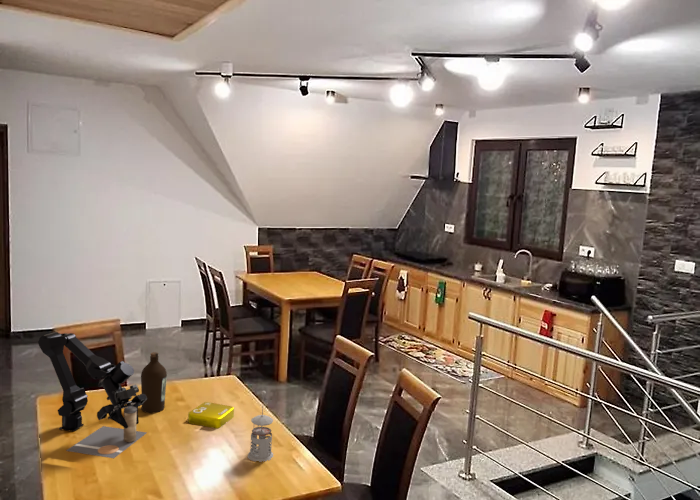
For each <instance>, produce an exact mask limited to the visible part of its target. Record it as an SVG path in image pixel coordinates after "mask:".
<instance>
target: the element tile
mask: <svg viewBox="0 0 700 500" xmlns="http://www.w3.org/2000/svg"><path fill="white" fill-rule="evenodd" d="M234 417H235V407H234V406H232V405H227V404H222V403H221V404H220V403H215V402H211V401H204V402H202V403H201V404H200V405H197V406H196V407H195V408H193V409H192V410H190V411H189V412H188V414H187V422H188V424H191V425H195V426H201V427H207V428H212V429H220V428H222V427H223V426H224V425H226V424H227V423H228V422H229V421H231V420H233V418H234ZM226 422H227V423H226Z"/></svg>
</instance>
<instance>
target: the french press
mask: <svg viewBox="0 0 700 500" xmlns="http://www.w3.org/2000/svg"><path fill="white" fill-rule="evenodd" d="M260 395H262V400H264V396H265V395H267V391H266V390H262V391H260ZM261 411H262V412H261V414H258V415H256V416H254V417H252V418H251V420H250V421H251V423H252V424H253V425H254V426H256V427H253V428H252V430H251V433H250V448H249V452H248V453H247V455H248V456H247V459H249V461H252V462H256V461H259V462H258V463H260V462H261V463H262V461H263V463H264V461H265V462H268V461H271V460H272V459H273V458H274V456H273V455H274V453H273V451H272V443H273V434H272V429H271V428H270V427H267V426H269V425H271V424H273V422H274V418H272V417H271V416H269V415H266V414H264V405H262V410H261ZM272 457H273V458H272ZM271 458H272V459H271ZM267 460H268V461H267Z"/></svg>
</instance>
